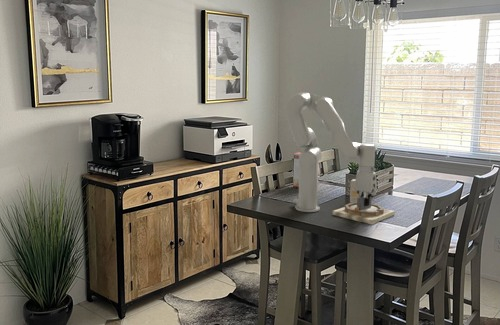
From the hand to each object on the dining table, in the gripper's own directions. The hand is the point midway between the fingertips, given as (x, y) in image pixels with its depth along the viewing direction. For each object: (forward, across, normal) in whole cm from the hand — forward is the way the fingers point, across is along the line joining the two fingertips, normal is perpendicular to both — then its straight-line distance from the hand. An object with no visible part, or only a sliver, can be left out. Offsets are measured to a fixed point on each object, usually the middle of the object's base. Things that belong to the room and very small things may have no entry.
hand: (364, 204), depth 254 cm
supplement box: (+5, +14, -15) cm, 21 cm away
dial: (+3, 0, 0) cm, 3 cm away
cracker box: (+5, +58, -19) cm, 61 cm away
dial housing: (+5, 0, 0) cm, 5 cm away
